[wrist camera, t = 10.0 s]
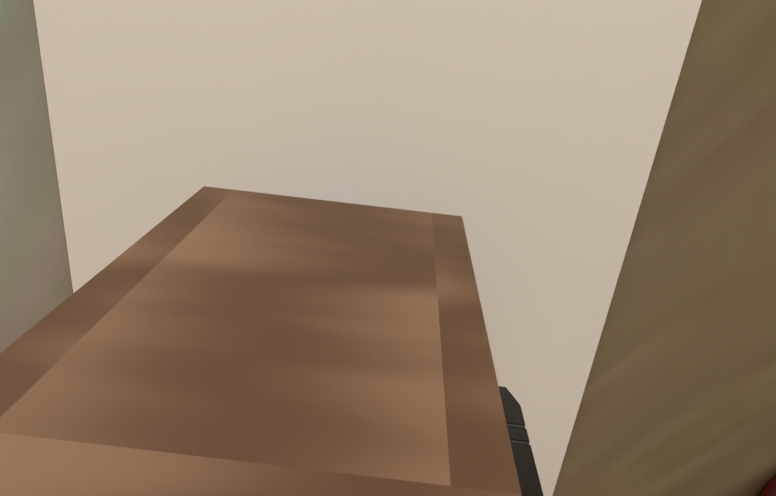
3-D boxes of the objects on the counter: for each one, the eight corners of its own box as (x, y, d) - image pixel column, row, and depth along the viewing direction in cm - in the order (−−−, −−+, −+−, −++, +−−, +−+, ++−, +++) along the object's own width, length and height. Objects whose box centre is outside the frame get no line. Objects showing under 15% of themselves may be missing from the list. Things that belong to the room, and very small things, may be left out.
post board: (685, -37, 14) (1388, -165, 4) (535, 491, 21) (643, 932, 11) (56, -109, 14) (-878, -418, 4) (118, 441, 21) (-156, 835, 11)
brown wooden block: (461, 215, 13) (537, 570, 5) (427, 421, 15) (438, 890, 7) (204, 186, 13) (-163, 487, 5) (209, 395, 15) (-27, 833, 7)
